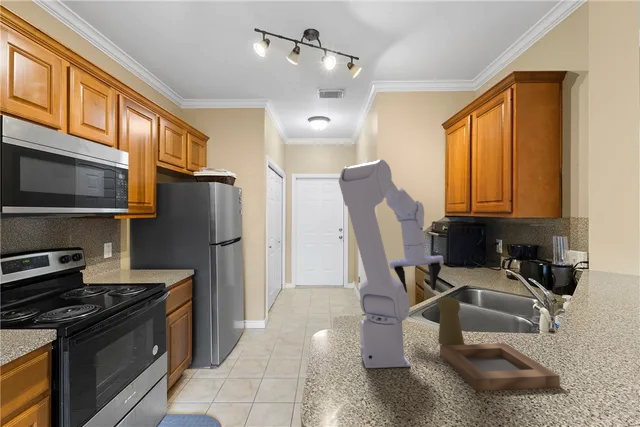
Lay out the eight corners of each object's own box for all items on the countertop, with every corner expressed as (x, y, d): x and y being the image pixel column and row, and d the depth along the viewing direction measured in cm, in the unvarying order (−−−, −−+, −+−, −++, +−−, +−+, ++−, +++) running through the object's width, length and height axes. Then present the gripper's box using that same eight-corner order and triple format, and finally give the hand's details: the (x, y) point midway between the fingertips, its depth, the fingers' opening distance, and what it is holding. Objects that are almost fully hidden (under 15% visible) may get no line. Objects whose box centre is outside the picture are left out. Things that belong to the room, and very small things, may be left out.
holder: (476, 390, 51) (475, 379, 51) (440, 354, 66) (439, 345, 66) (560, 387, 51) (559, 375, 51) (505, 352, 66) (504, 343, 66)
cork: (467, 348, 69) (464, 301, 70) (440, 347, 70) (438, 301, 71) (460, 338, 75) (457, 296, 76) (436, 338, 76) (433, 295, 77)
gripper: (436, 238, 84) (441, 283, 85) (386, 243, 86) (391, 288, 87) (443, 242, 77) (449, 291, 78) (388, 248, 79) (394, 296, 80)
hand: (419, 290), depth 82 cm, fingers open, 7 cm apart
